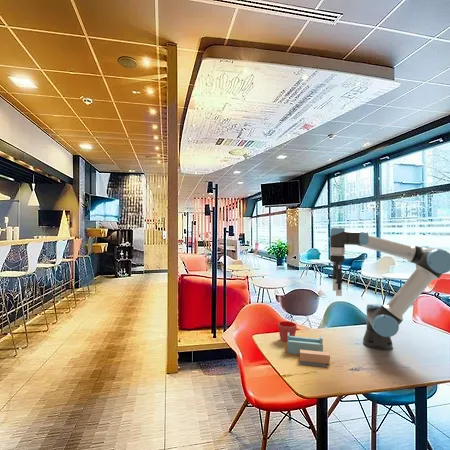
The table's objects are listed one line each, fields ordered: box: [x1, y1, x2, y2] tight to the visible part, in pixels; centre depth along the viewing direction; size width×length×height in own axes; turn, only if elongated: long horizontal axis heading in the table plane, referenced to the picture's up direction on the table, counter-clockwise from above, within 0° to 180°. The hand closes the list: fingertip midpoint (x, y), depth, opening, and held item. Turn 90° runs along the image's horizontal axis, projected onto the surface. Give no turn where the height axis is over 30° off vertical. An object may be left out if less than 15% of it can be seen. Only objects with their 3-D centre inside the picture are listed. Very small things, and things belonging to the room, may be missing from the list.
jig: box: [286, 333, 324, 355], centre depth 159 cm, size 18×9×9 cm, turn 77°
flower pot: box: [277, 320, 298, 343], centre depth 176 cm, size 11×11×10 cm
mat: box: [299, 360, 327, 368], centre depth 147 cm, size 12×10×1 cm
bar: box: [299, 350, 331, 365], centre depth 147 cm, size 14×4×4 cm, turn 78°
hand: (337, 293), depth 165 cm, fingers open, 13 cm apart
